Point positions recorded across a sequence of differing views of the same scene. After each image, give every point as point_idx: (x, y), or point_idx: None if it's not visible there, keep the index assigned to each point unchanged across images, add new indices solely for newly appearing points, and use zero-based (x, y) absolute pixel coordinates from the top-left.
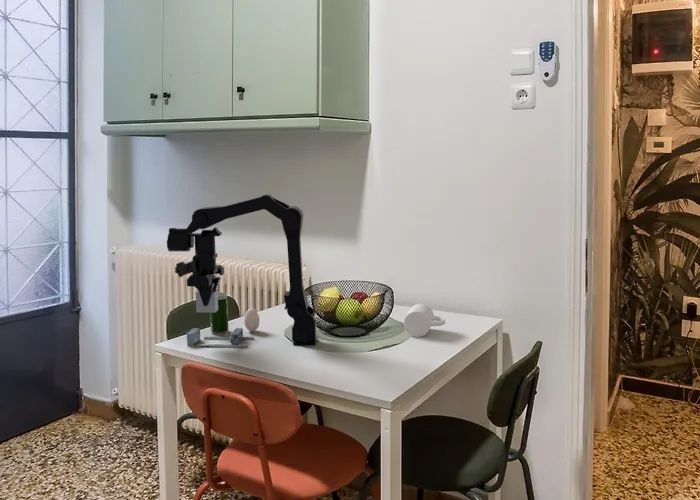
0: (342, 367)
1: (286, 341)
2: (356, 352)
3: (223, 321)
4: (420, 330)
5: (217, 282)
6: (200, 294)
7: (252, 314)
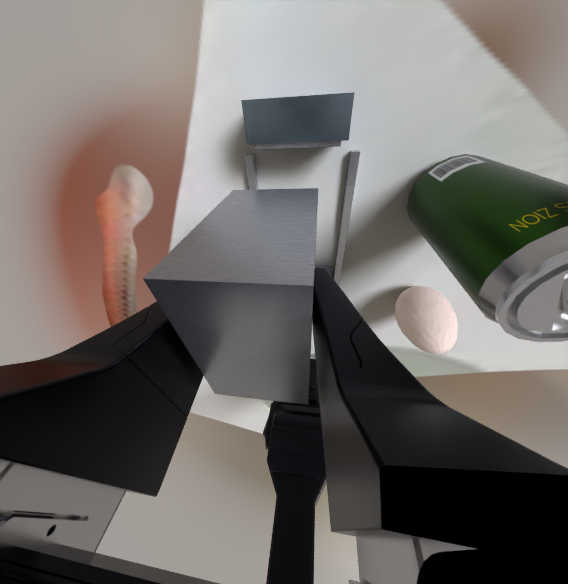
0: (206, 387)
1: (311, 349)
2: (263, 399)
3: (425, 238)
4: None
5: (327, 480)
6: (136, 319)
7: (410, 338)
